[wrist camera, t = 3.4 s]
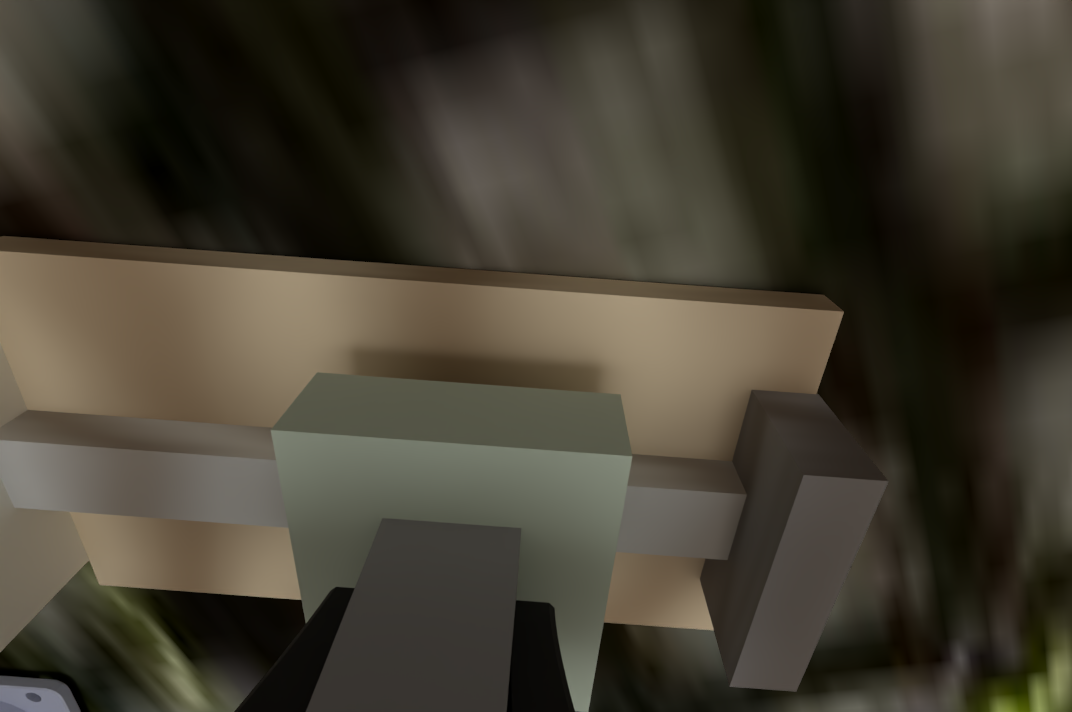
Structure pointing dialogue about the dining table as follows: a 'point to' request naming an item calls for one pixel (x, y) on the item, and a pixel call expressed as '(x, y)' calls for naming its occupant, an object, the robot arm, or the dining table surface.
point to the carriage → (450, 531)
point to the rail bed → (436, 355)
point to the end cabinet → (30, 540)
